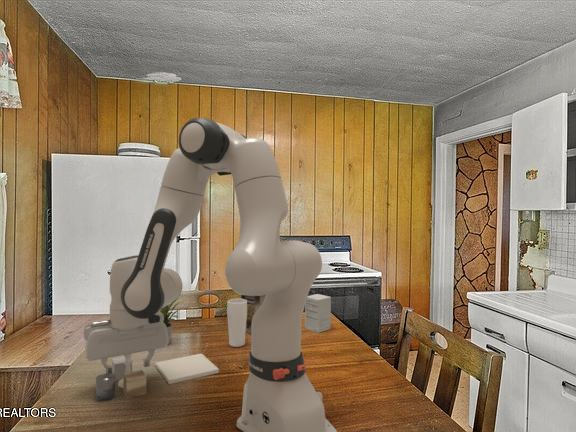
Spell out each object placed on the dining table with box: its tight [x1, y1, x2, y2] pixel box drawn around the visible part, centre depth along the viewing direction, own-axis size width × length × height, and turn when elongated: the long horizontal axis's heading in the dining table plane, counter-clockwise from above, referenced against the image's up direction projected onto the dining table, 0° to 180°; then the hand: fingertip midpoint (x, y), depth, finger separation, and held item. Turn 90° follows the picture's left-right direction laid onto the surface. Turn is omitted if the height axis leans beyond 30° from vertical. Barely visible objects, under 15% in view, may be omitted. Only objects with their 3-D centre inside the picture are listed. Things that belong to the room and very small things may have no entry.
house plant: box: [159, 296, 184, 346], centre depth 135 cm, size 14×14×16 cm
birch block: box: [123, 369, 147, 399], centre depth 99 cm, size 4×4×4 cm
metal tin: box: [95, 373, 117, 403], centre depth 96 cm, size 4×4×5 cm
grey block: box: [111, 356, 133, 381], centre depth 109 cm, size 4×4×4 cm
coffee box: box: [240, 295, 266, 334], centre depth 149 cm, size 9×6×16 cm
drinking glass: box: [226, 298, 247, 348], centre depth 134 cm, size 7×7×15 cm
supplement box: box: [304, 293, 332, 334], centre depth 152 cm, size 7×7×13 cm
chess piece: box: [117, 353, 133, 389], centre depth 104 cm, size 5×5×10 cm
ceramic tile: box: [155, 353, 220, 385], centre depth 113 cm, size 14×14×1 cm
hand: (128, 369), depth 104 cm, fingers open, 8 cm apart
